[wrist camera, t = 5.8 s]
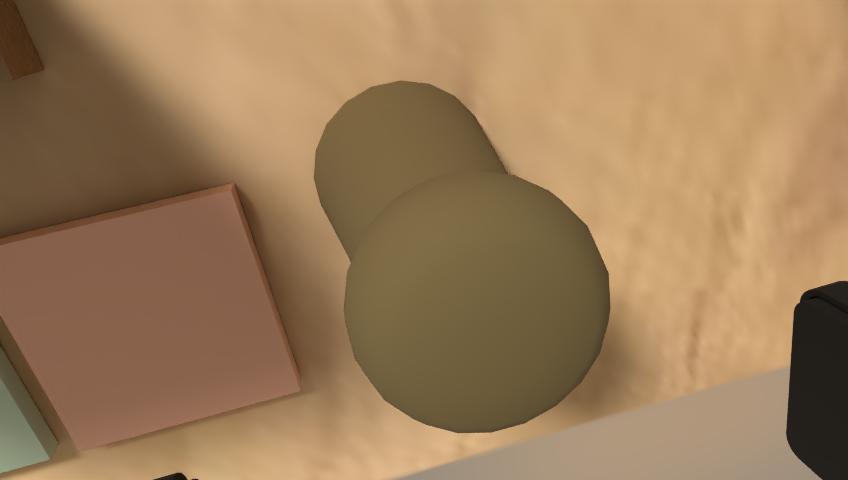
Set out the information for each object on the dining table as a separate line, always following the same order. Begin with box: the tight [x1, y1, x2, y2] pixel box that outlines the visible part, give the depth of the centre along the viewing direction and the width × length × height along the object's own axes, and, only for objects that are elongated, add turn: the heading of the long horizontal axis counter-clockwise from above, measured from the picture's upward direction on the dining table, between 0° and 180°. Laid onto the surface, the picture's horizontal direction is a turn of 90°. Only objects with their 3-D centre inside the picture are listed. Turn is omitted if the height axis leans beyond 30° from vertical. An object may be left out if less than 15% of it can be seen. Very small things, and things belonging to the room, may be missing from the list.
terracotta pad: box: [0, 183, 301, 452], centre depth 20 cm, size 8×8×1 cm
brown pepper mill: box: [314, 81, 610, 433], centre depth 15 cm, size 6×6×11 cm
